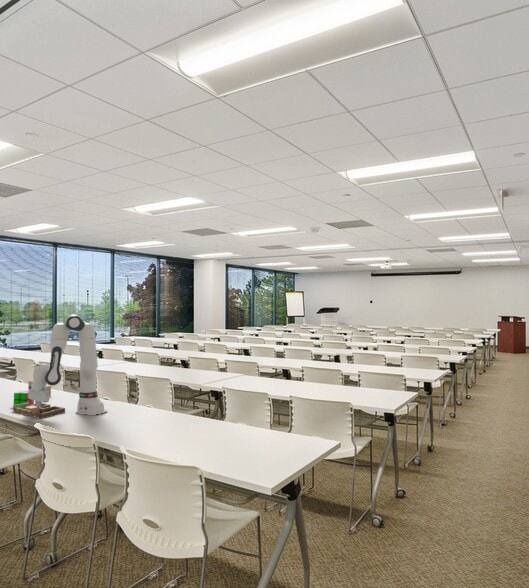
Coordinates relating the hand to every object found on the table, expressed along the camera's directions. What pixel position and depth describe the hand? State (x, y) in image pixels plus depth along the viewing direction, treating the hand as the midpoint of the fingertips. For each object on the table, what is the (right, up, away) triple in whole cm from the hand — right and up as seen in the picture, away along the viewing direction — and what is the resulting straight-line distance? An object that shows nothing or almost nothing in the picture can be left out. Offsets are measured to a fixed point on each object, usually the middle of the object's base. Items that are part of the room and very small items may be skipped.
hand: (38, 407), depth 309 cm
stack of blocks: (-31, -7, +62) cm, 70 cm away
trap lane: (-3, -6, +8) cm, 10 cm away
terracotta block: (-7, -6, +5) cm, 10 cm away
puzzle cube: (-26, -6, +29) cm, 39 cm away
